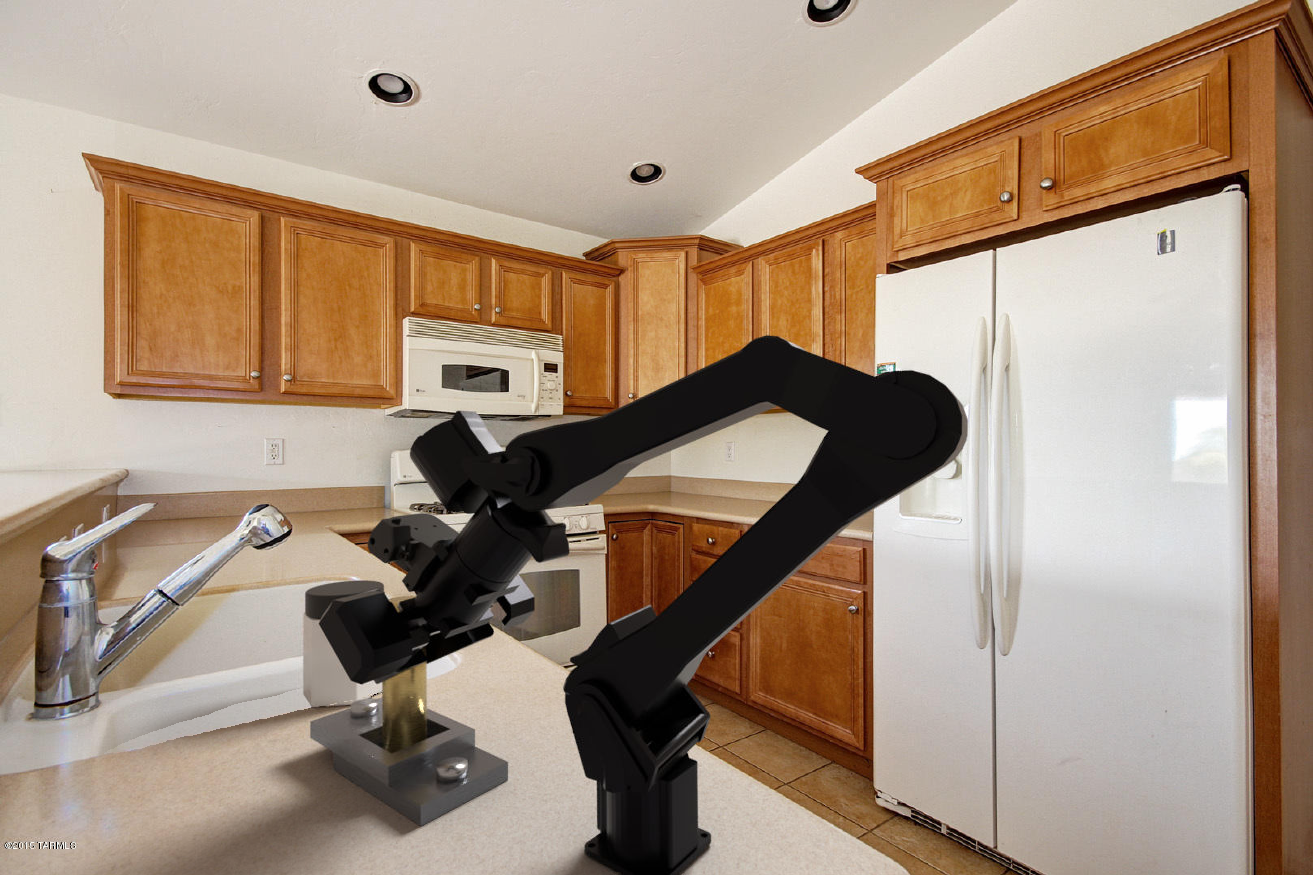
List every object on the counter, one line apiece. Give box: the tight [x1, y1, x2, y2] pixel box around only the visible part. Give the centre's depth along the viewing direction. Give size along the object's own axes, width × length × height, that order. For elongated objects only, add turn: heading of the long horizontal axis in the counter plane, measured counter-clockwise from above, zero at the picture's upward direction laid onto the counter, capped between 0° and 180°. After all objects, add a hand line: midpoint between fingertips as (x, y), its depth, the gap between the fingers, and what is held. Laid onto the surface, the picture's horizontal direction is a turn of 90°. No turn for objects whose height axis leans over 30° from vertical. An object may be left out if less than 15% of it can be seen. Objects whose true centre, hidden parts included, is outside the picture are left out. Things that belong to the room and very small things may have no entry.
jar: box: [302, 579, 386, 708], centre depth 72 cm, size 9×8×12 cm
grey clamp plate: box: [309, 697, 509, 827], centre depth 55 cm, size 18×8×4 cm, turn 52°
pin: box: [381, 595, 428, 753], centre depth 55 cm, size 4×4×13 cm
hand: (394, 671), depth 55 cm, fingers closed on pin, 3 cm apart
